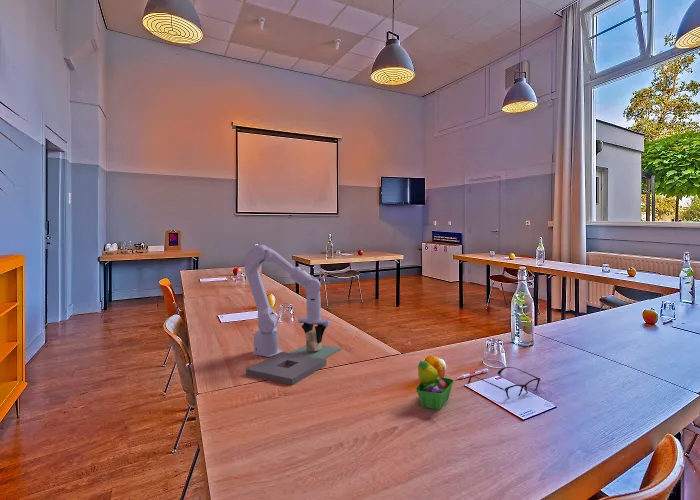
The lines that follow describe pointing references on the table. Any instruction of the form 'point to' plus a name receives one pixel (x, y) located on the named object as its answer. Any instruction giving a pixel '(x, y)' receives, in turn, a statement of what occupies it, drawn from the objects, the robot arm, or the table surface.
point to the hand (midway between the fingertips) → (314, 342)
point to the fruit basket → (432, 386)
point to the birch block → (312, 341)
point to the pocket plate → (291, 375)
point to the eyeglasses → (513, 385)
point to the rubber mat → (320, 353)
